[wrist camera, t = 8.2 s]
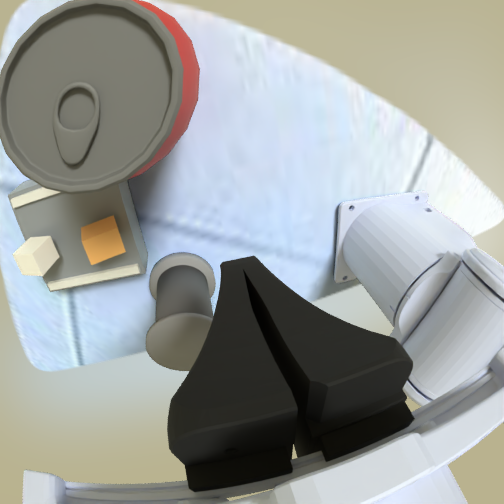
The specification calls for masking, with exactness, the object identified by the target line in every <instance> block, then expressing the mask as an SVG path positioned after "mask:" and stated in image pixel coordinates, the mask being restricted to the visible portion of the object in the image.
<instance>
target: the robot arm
mask: <svg viewBox="0 0 504 504" xmlns="http://www.w3.org/2000/svg"><path fill="white" fill-rule="evenodd" d="M415 197H416V198H415ZM427 201H428V193H427V192H426V191H416V192H409V193H401V194H394V195H387V196H380V197H373V198H366V199H359V200H352V201H346V202H342V203H341V204H340V206H339V212H338V231H337V246H336V259H335V271H334V280H335V282H336V283H343V282H346V281H350V280H354V279H358V280H359V281H360V282H361V284H362V285H363V286H364V288H365V289H366V290H367V292H368V293H369V294H370V296H371V297H372V298H373V300H374V301H375V302H376V304H377V305H378V306H379V308H380V309H381V310H382V312H383V313H384V314H385V316H386V317H387V319H388V320H389V321H390V323H391V324H392V326H393V327H394V329H393V332H392V333H391V334H390V336H386V335H382V334H379V333H375V332H371V331H368V330H366V329H363V328H360V327H357V326H355V325H352V324H350V323H347V322H345V321H343V320H341V319H339V318H337V317H334V316H332V315H330V314H328V313H326V312H324V311H323V310H321V309H319V308H318V307H316V306H314V305H312V304H311V303H310V302H308V301H306V300H305V299H304V298H302V297H301V296H299V295H298V294H297V293H295V292H294V291H293V290H291V289H290V288H289V287H288V286H286V285H285V284H284V283H283V282H282V281H280V280H279V279H278V278H277V277H276V276H275V275H274V274H272V273H271V272H270V271H269V270H268V269H267V268H266V267H265V266H264V265H263V264H262V263H261V262H260V261H259V260H258V259H257V258H256V257H255V256H250V257H245V258H241V259H236V260H231V261H226V262H222V264H221V265H220V268H221V282H220V290H219V296H218V301H217V305H216V309H215V313H214V317H213V320H212V323H211V326H210V329H209V332H208V334H207V337H206V339H205V342H204V344H203V346H202V349H201V351H200V353H199V355H198V357H197V359H196V361H195V362H194V364H193V366H192V368H191V370H190V372H189V374H188V375H187V377H186V378H185V380H184V381H183V383H182V384H181V386H180V387H179V389H178V390H177V392H176V393H175V395H174V396H173V398H172V399H171V403H170V408H169V415H168V428H167V430H168V441H169V449H170V450H171V452H172V453H173V454H174V455H175V456H176V457H177V458H178V459H179V460H180V461H181V462H182V463H183V464H184V465H185V469H186V475H187V480H186V481H178V482H177V481H176V482H165V483H148V484H95V483H79V482H67V481H64V480H63V479H61V478H60V477H58V476H56V475H53V474H50V473H45V472H38V471H32V470H24V478H23V504H468V503H467V501H466V499H465V497H464V495H463V493H462V492H461V489H460V488H459V486H458V484H457V482H456V480H455V478H454V476H453V475H452V472H451V471H450V469H449V467H448V464H449V463H451V462H452V461H454V460H455V459H457V458H458V457H460V456H461V455H462V454H464V453H465V452H466V451H468V450H469V449H470V448H472V447H473V446H474V445H475V444H477V443H478V442H479V441H481V440H482V439H483V438H485V437H486V436H487V435H488V434H489V433H491V432H492V431H493V430H494V429H495V428H496V427H498V426H499V425H500V424H501V423H502V422H503V423H504V266H503V265H502V264H500V263H499V262H498V261H496V260H495V259H494V258H493V257H491V256H490V255H489V254H487V253H485V252H484V251H483V250H481V249H479V248H477V246H476V244H475V242H474V240H473V238H472V237H471V235H470V234H469V233H468V232H467V231H466V230H465V229H463V228H462V227H461V226H459V225H458V224H457V223H455V222H454V221H453V220H451V219H450V218H449V217H447V216H446V215H445V214H443V213H442V212H440V211H439V210H438V209H436V208H435V207H433V206H432V205H430V204H429V203H427ZM351 205H352V208H351V209H349V207H350V206H351ZM344 276H345V277H344ZM343 277H344V278H343ZM406 395H407V396H408V397H409V398H410V399H411V400H412V401H414V402H415V403H417V404H418V405H420V406H422V407H420V408H418V409H417V410H415V411H413V412H411V411H410V410H409V408H408V406H407V405H406V403H405V401H406V399H407V396H406ZM293 444H294V447H295V450H296V454H297V457H298V458H296V459H292V450H293ZM273 488H274V489H273ZM268 489H273V490H270V491H267V492H263V493H260V494H256V495H252V496H249V497H245V498H241V499H237V500H233V501H229V500H227V499H226V498H229V497H235V496H241V495H246V494H251V493H255V492H260V491H264V490H268Z"/></svg>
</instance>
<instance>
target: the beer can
mask: <svg viewBox="0 0 504 504" xmlns="http://www.w3.org/2000/svg"><path fill="white" fill-rule="evenodd" d="M199 73H200V69H199V65H198V62H197V58H196V55H195V51H194V48H193V44H192V41H191V39H190V38H189V37H188V35H187V34H186V33H185V31H184V30H183V29H182V27H181V26H180V25H179V24H178V22H177V21H176V20H175V18H174V17H172V16H170V15H169V14H167V13H166V12H164V11H162V10H161V9H159V8H157V7H156V6H154V5H152V4H150V3H148V2H144V1H139V0H72V1H68V2H66V3H65V4H63V5H61V6H59V7H57V8H55V9H54V10H52V11H50V12H48V13H47V14H45V15H43V16H42V17H40V18H39V19H38V20H37V21H36V22H35V23H34V24H33V25H32V26H31V27H30V28H29V29H28V30H27V31H26V32H25V33H24V34H23V35H22V36H21V37H20V38H19V39H18V40H17V42H16V44H15V45H14V47H13V49H12V51H11V53H10V54H9V56H8V58H7V60H6V62H5V64H4V66H3V68H2V70H1V74H0V139H1V141H2V144H3V147H4V149H5V152H6V154H7V155H8V157H9V158H10V159H11V160H12V162H13V163H14V164H15V165H16V167H17V168H18V169H19V170H20V171H21V173H22V174H23V175H25V176H26V177H28V178H29V179H31V180H32V181H34V182H36V183H37V184H39V185H40V186H42V187H44V188H46V189H50V190H54V191H58V192H63V193H67V194H81V193H92V192H100V191H102V190H105V189H107V188H109V187H112V186H114V185H117V184H119V183H122V182H124V181H127V180H128V179H130V178H133V177H136V176H138V175H140V174H142V173H144V172H145V171H147V170H148V169H149V168H150V167H152V166H153V165H154V164H156V163H157V162H158V161H160V160H161V159H162V158H164V157H165V156H166V155H168V154H169V152H170V151H171V150H172V148H173V147H174V146H175V144H176V143H177V141H178V140H179V139H180V137H181V136H182V135H183V134H184V132H185V131H186V130H187V128H188V125H189V122H190V119H191V117H192V114H193V111H194V109H195V106H196V104H197V101H198V90H199Z"/></svg>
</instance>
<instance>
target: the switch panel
mask: <svg viewBox="0 0 504 504" xmlns="http://www.w3.org/2000/svg"><path fill="white" fill-rule="evenodd" d="M8 198H9V200H10V203H11V206H12V209H13V211H14V214H15V216H16V219H17V222H18V224H19V227H20V229H21V231H22V234H23V236H24V238H25V241H27V240H28V239H29V238H30V237H40V236H51V238H52V241H53V243H54V246H55V248H56V250H57V253H58V255H59V258H58V259H57V260H56V261H55V263H54V264H53V265H52V266H51V267H50V268H49V269H48V271H47V272H46V273H45V274H44V275H43V276H42V277H43V279H44V281H45V283H46V284H47V286H48V288H49V290H50V292H53V291H58V290H63V289H68V288H73V287H78V286H84V285H89V284H94V283H99V282H104V281H109V280H114V279H119V278H124V277H130V276H135V275H140V274H145V273H146V267H147V259H148V252H147V249H146V245H145V242H144V239H143V236H142V232H141V229H140V226H139V222H138V219H137V215H136V211H135V208H134V204H133V201H132V197H131V193H130V189H129V185H128V181H124V182H122V183H119V184H117V185H114V186H112V187H109V188H107V189H105V190H102V191H100V192H92V193H81V194H67V193H63V192H58V191H54V190H50V189H46V188H44V187H42V186H40V185H39V184H37V183H36V182H34V181H32V180H31V179H30V180H27V181H25V182H23V183H21V184H20V185H19V186H18V187H17V188H16V189H14V190H13V191H12V192H11V193H10V194H9V195H8ZM113 215H114V218H115V221H116V224H117V227H118V230H119V233H120V236H121V239H122V242H123V245H124V248H125V251H126V252H124V253H122V254H119V255H117V256H114V257H111V258H109V259H106V260H104V261H101V262H99V263H96V264H94V265H91V263H90V261H89V258H88V256H87V254H86V251H85V249H84V246H83V244H82V239H81V227H84V226H86V225H89V224H92V223H94V222H97V221H99V220H102V219H105V218H107V217H110V216H113Z"/></svg>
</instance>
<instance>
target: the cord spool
mask: <svg viewBox="0 0 504 504" xmlns="http://www.w3.org/2000/svg"><path fill="white" fill-rule="evenodd" d="M215 284H216V283H215V277H214V272H213V270H212V268H211V266H210V265H209V263H208V262H207V261H206V260H204V259H203V258H201V257H200V256H197V255H195V254H191V253H185V252H181V253H173V254H170V255H167V256H165V257H163V258H162V259H160V260H159V261H158V262H157V263H156V264H155V265H154V267H153V269H152V271H151V275H150V285H149V286H150V291H151V294H152V296H153V297H154V299H155V300H156V322H155V323H154V324H153V325H152V326H151V327H150V329H149V330H148V332H147V335H146V350H147V352H148V354H149V356H150V357H151V358H152V359H153V360H154V361H155V362H156V363H158V364H159V365H162V366H164V367H166V368H169V369H173V370H179V371H190V370H191V368H192V366H193V364H194V362H195V361H196V359H197V357H198V355H199V353H200V351H201V349H202V346H203V344H204V342H205V339H206V337H207V334H208V332H209V329H210V326H211V323H212V320H213V311H212V305H211V300H210V298H211V297H212V295H213V293H214V291H215Z"/></svg>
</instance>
